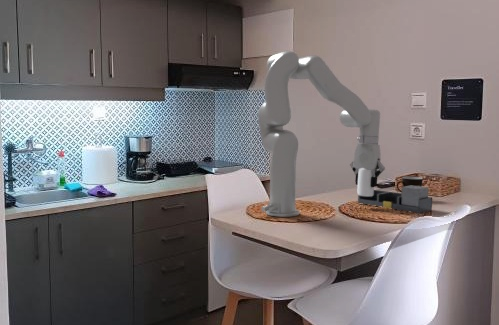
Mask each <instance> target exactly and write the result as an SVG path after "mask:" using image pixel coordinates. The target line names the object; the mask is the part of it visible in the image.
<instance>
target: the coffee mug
mask: <svg viewBox="0 0 499 325" xmlns="http://www.w3.org/2000/svg"><path fill="white" fill-rule="evenodd" d="M423 179H424V178H423V177H419V176H403V177H401V181H398V182H397V183H396V188H397V190H398V191H399V192H400V193H402V189H401V190H400V187H399V184H400V183H401V184H402V187H405V186H410V185H413V186H421V187H423V186H422V185H423V181H424V180H423Z"/></svg>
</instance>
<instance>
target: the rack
mask: <svg viewBox="0 0 499 325" xmlns="http://www.w3.org/2000/svg"><path fill="white" fill-rule="evenodd" d="M401 191H402V193H401V192H400V193H399V192H394V191H393V192H392V191H386V190H378V189H374V195H373V196H372V197H364V196H359V195H358V194H357V204H358V203H363V204H370V205H376V206H382V207H386V208H392V209H391V210H393V209H397V210H396V211H399V210H404V211H403V212H406V211H411V212H410V213H412V212H416V213H415V214H418V213H421V214H423V213H422V212H425V213H428V212H432V210H433V197H432V196H429V187H427V186H422V187H421V186H413V185H410V186H405V187H403V186H401ZM386 208H385V209H386ZM427 211H428V212H427Z"/></svg>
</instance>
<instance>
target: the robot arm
mask: <svg viewBox="0 0 499 325" xmlns="http://www.w3.org/2000/svg"><path fill="white" fill-rule="evenodd" d="M266 70H267V72H266V75H265V78H264V85H263V86H264V97H265V102H263V103H262V105H260V107H259V110H258V113H257V114H258V116H257V119H258V127H259V132H260V140H261V144H262V146H263V148H264V150H265V151H267V152H268V153H270V154H271V160H270V165H269V166H270V170H269V171H270V172H269V174H270V176H269V180H270V182H269V184H270V185H269V202H267V205H263V206H261V208H260V209H261V212H265V214H266V215H268V216H272V217H276V218H277V217H278V218H279V217H280V218H288V217H290V218H291V217H296V216H298V215H300V210H299V209H296V192H297V191H296V188H297V187H296V180H297V178H296V176H297V156H298V151H299V139H298V137H297V135H296V134H295V133H294V132H293V131H291V130H287V129H284V126H286V125H288V124H289V123H290V122H291V118H292V111H291V110H292V109H291V104H290V98H289V88H288V87H289V81H290V79H293V80H309V82H310V83H311V84H312V85H313V87H314V88H315V89H316V90H317V92H318V93H319V94H320V96H321V97H322V98H323V99H325V100H326V101H329V102H331V103H333V104H335V105H338V106H339V107H341V108H342V109H343V110H342V111H341V112H340V114H339V121H340V123H341V125H343V126H344V127H347V128H359V134H358V135H359V136H357V137H356V141H358V143H356V145H355V150H354V155H353V160H352V161H351V162H350V164H349V166H350V168H351V169H352V171H353V172H354V175H355V185H357V186H358V171H359V169H360V168H365V169H367V170H371V172H372V176H373V177H371V187H374V188H376V187H377V185H378V177H379V176H380V175H381V174H382V173H383V172H384V171H385V170H386V167H385V165H384V164H383V163H382V161H381V160H382V159H381V158H382V157H381V156H382V155H381V147H380V144H379V140H380V139H379V138H380V122H381V111H380V110H378V109H372V108H368V107H367V105H366V104H365V102H364V101H363V100H362V98H360V97H359V96H358V95H357V93H354V91H352V90H351V89H350V88H348V87H347V86H346V85H344V84H343V83H342V82H341V81H340V80H339V78H338V77H337V76H336V75H335V73H333V71H332V70H331V68H330V67H329V66H328V64H326V61H324V60H323V59H322V57H321V56H320V55H319V56H318V55H307V56H303V57H299V56H298V54H297V53H296V52H295V51H292V50H286V51H282V52H279V53H276V54H273V55H271V56H270V57H268V60H267V61H266Z"/></svg>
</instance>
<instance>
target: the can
mask: <svg viewBox="0 0 499 325" xmlns="http://www.w3.org/2000/svg"><path fill="white" fill-rule="evenodd" d="M371 177H373V176H372V172H371V170H367V169H365V168H360V169H359V171H358V185H357V187H356V188H357V191H356V194H357V196H358V195H359V196H364V197H372V196H373V195H374V190H375V187H371Z"/></svg>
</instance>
